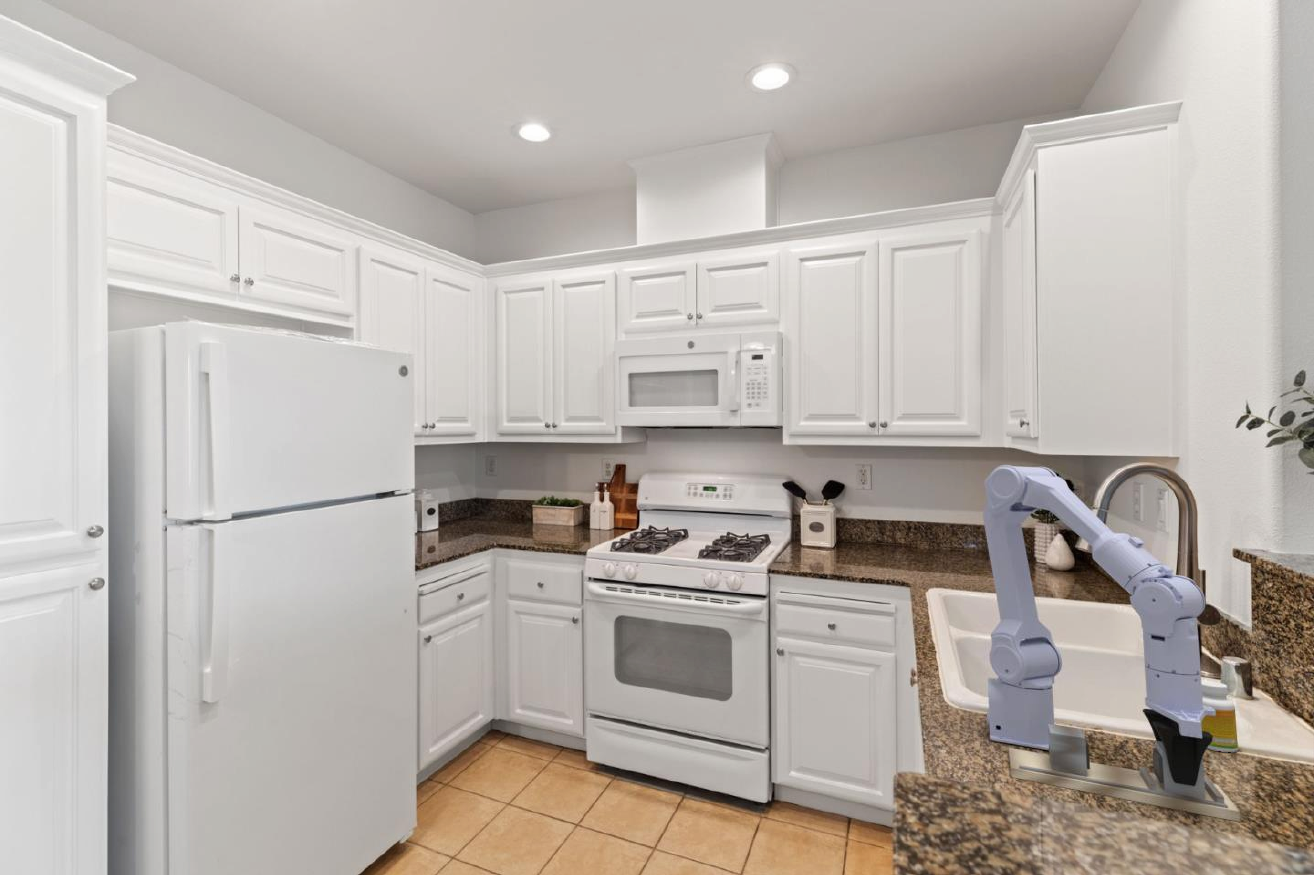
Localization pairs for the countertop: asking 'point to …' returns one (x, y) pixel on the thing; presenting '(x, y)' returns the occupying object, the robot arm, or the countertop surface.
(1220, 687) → the supplement bottle
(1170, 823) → the countertop surface
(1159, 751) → the finger part
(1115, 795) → the rail
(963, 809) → the countertop surface
